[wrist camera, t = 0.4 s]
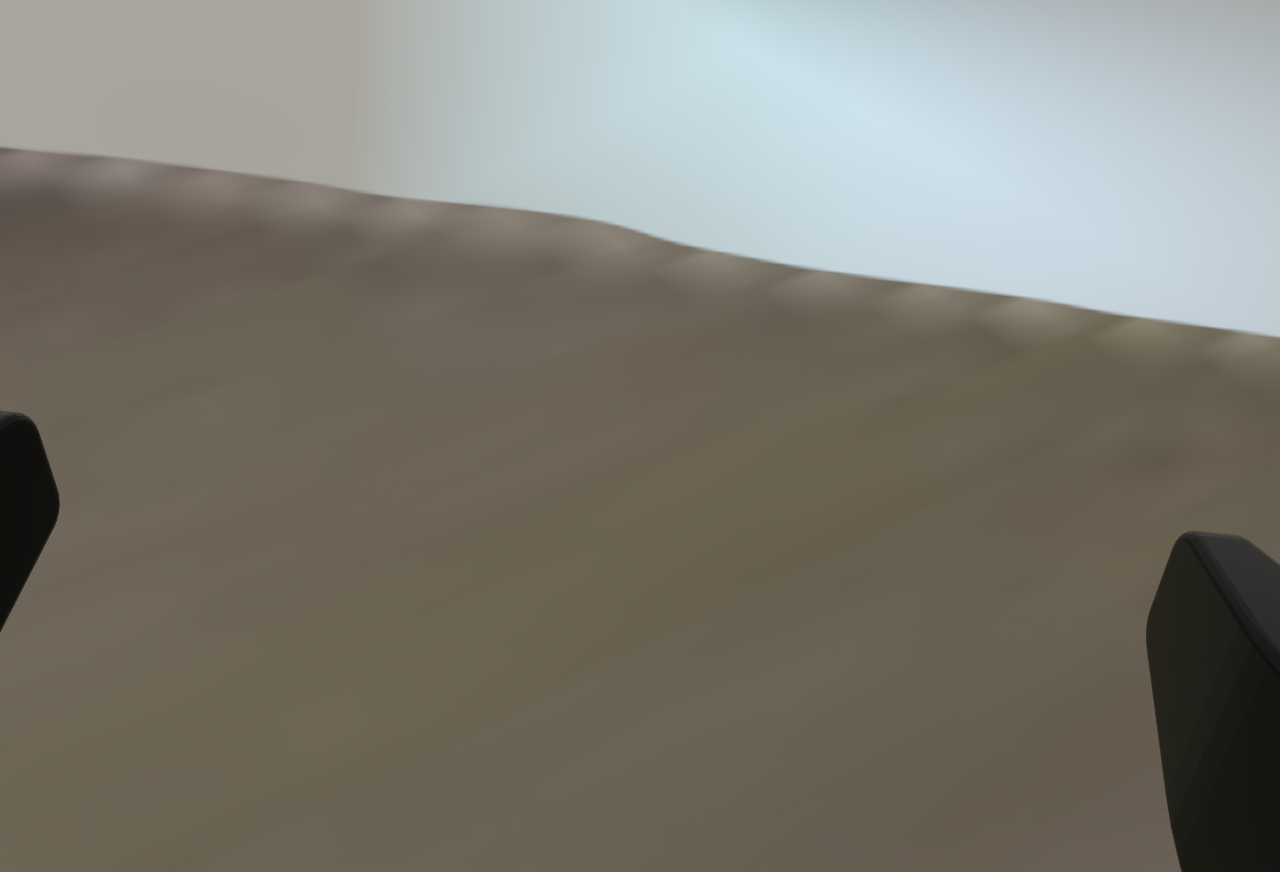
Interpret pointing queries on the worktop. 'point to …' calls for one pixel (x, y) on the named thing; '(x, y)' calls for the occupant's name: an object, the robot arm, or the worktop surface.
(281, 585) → the worktop surface
